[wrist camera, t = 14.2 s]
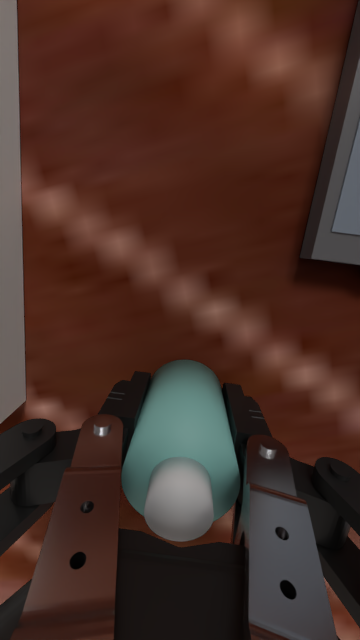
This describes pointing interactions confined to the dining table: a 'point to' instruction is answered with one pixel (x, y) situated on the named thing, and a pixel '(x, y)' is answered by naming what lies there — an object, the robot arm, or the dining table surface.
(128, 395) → the robot arm
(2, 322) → the board
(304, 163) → the dining table surface
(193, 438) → the teal rounded cylinder
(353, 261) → the phone
